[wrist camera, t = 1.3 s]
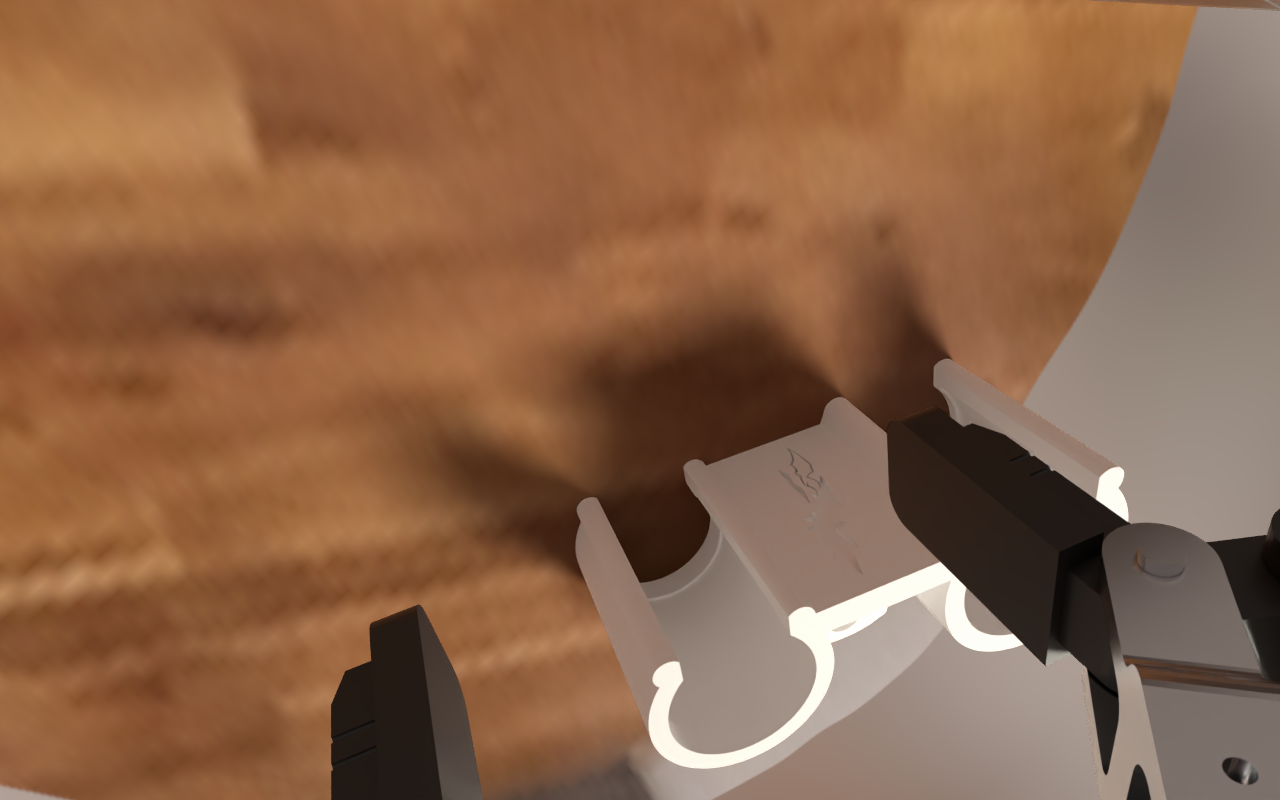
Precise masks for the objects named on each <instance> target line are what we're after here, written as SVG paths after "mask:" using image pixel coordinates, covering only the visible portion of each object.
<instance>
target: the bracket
mask: <svg viewBox="0 0 1280 800" xmlns="http://www.w3.org/2000/svg"><path fill="white" fill-rule="evenodd" d="M933 386H934V387H935V388H937V389H938V390H939V391H940V392H941V393H942V394H943V396H944V397H945V399H946V401H947V404H948V407H949V412H950V417H951V418H952V419H954V420H955V421H956V422H958V423H959V424H960V425H962V426H963V427H964V426H966V425H969V424H971V423H973V424H976V425H979V426H982V427H985V428H987V429H990V430H993V431H996V432H999V433H1002V434H1005V435H1006V436H1007V437H1009V438H1010V439H1012V440H1013V441H1015V442H1016V443H1017V444H1019V445H1020V446H1022V447H1023V448H1024V449H1026V450H1027V451H1029V453H1030V455H1031V456H1036V457H1037V458H1038V459H1040V460H1041V461H1043V462H1044V463H1046V464H1047V465H1048V466H1049V467H1050V469H1051V471H1053V470H1055V471H1057V472H1058V473H1060V474H1061V475H1062V476H1064V477H1065V478H1067V479H1068V480H1069V481H1071V482H1072V483H1074V484H1075V485H1076V486H1078V487H1079V488H1081V489H1082V490H1084V491H1085V492H1086V493H1088V494H1089V495H1091V496H1092V497H1093V498H1095V499H1096V500H1098V501H1099V502H1100V503H1102V504H1103V505H1105V506H1106V507H1107V508H1109V509H1110V510H1112V511H1113V512H1115V513H1116V514H1117V515H1119V516H1120V517H1122V518H1123V519H1124V520H1126V521H1127V522H1128V508H1127V504H1126V501H1125V498H1124V496H1123V494H1122V493H1121V491H1120V490H1119V489H1118V487H1119V486H1120V484H1121V483H1122V481H1123V478H1124V471H1123V469H1122V468H1120V467H1119V466H1117V465H1115V464H1114V463H1112V462H1111V461H1109V460H1107V459H1106V458H1104V457H1103V456H1101V455H1100V454H1098V453H1096V452H1095V451H1094V450H1092V449H1090V448H1089V447H1087V446H1086V445H1084V444H1083V443H1081V442H1079V441H1078V440H1076V439H1075V438H1073V437H1071V436H1070V435H1068V434H1067V433H1065V432H1064V431H1062V430H1061V429H1059V428H1057V427H1056V426H1054V425H1052V424H1051V423H1050V422H1048V421H1047V420H1045V419H1043V418H1042V417H1040V416H1038V415H1037V414H1035V413H1034V412H1032V411H1031V410H1029V409H1028V408H1026V407H1025V406H1023V405H1021V404H1020V403H1018V402H1017V401H1015V400H1014V399H1012V398H1010V397H1009V396H1007V395H1006V394H1004V393H1003V392H1001V391H999V390H998V389H996V388H995V387H993V386H992V385H990V384H989V383H987V382H985V381H984V380H982V379H981V378H979V377H978V376H976V375H974V374H973V373H971V372H970V371H968V370H967V369H965V368H963V367H962V366H960V365H959V364H957V363H956V362H954V361H952V360H951V359H943V360H941V361H939V362H938V363H937V364H936V365H935V366H934V379H933ZM683 469H684V474H685V480H686V484H687V485H688V487H689V488H690V489H691V491H692V492H693V494H694V495H695V497H698V499H699V500H700V501H701V503H702V504H703V506H704V507H705V509H706V510H707V512H708V513H709V515H710V526H709V531H708V534H707V536H706V539H705V541H704V543H703V545H702V546H701V548H700V549H699V551H698V552H697V553H696V554H695V556H694V557H693V558H692V559H691V560H690V561H689V562H688V563H686V564H685V565H684V566H683V567H681V568H680V569H678V570H677V571H675V572H674V573H672V574H670V575H668V576H666V577H663V578H661V579H658V580H654V581H650V582H645V583H639V581H638V579H637V577H636V575H635V573H634V571H633V569H632V567H631V565H630V563H629V561H628V559H627V557H626V555H625V553H624V551H623V549H622V547H621V545H620V543H619V541H618V539H617V537H616V535H615V533H614V531H613V529H612V527H611V525H610V523H609V521H608V519H607V517H606V515H605V513H604V511H603V509H602V507H601V505H600V503H599V501H598V499H597V498H595V497H589V498H586V499H584V500H582V501H581V502H580V503H579V505H578V506H577V514H578V517H579V519H580V521H581V523H580V526H579V529H578V532H577V536H576V546H575V550H576V557H577V561H578V564H579V567H580V569H581V571H582V574H583V576H584V579H585V581H586V584H587V586H588V588H589V591H590V593H591V596H592V598H593V600H594V603H595V605H596V608H597V610H598V612H599V615H600V617H601V620H602V622H603V625H604V627H605V629H606V632H607V634H608V637H609V639H610V641H611V644H612V646H613V649H614V651H615V653H616V656H617V658H618V661H619V663H620V666H621V668H622V670H623V673H624V675H625V678H626V680H627V682H628V685H629V687H630V690H631V692H632V694H633V697H634V699H635V702H636V704H637V707H638V709H639V711H640V714H641V716H642V719H643V721H644V723H645V726H646V728H647V731H648V733H649V735H650V738H651V740H652V743H653V744H654V746H655V748H656V749H657V750H658V752H659V753H660V754H661V755H662V756H664V757H665V758H666V759H668V760H669V761H671V762H673V763H675V764H678V765H681V766H685V767H690V768H704V769H705V768H717V767H723V766H728V765H732V764H736V763H739V762H742V761H745V760H748V759H750V758H752V757H755V756H757V755H759V754H761V753H763V752H765V751H767V750H769V749H770V748H772V747H774V746H775V745H777V744H778V743H780V742H781V741H783V740H784V739H786V738H787V737H788V736H789V735H791V734H792V733H793V732H794V731H795V730H797V729H798V728H799V727H800V726H801V725H802V724H803V723H804V722H805V721H806V720H807V719H808V718H809V717H810V715H811V714H812V713H813V712H814V710H815V709H816V708H817V706H818V705H819V704H820V702H821V700H822V699H823V697H824V695H825V693H826V691H827V689H828V687H829V685H830V682H831V679H832V675H833V670H834V653H833V649H832V645H831V642H834V641H837V640H840V639H842V638H845V637H847V636H849V635H851V634H854V633H856V632H857V631H859V630H861V629H863V628H864V627H866V626H868V625H869V624H871V623H872V622H874V621H875V620H876V619H878V618H879V617H880V616H882V615H883V614H884V613H885V612H886V611H887V607H888V606H891V605H893V604H896V603H898V602H900V601H903V600H905V599H907V598H910V597H912V596H916V597H917V598H918V599H919V600H920V602H921V603H922V604H923V605H924V606H925V607H926V608H927V609H928V610H929V611H930V612H931V613H932V614H933V616H934V617H935V618H936V619H937V620H938V621H939V622H940V623H941V624H942V625H943V626H944V627H945V629H946V630H947V631H948V632H949V633H950V634H951V635H952V636H953V637H954V638H955V639H956V640H957V641H958V642H959V643H960V644H962V645H964V646H965V647H968V648H970V649H973V650H978V651H1000V650H1006V649H1010V648H1013V647H1016V646H1019V645H1022V644H1023V643H1022V642H1021V641H1020V640H1019V639H1018V638H1017V637H1016V636H1015V635H1014V634H1013V633H1012V632H1011V631H1010V630H1009V629H1007V628H1006V627H1005V626H1004V625H1003V624H1002V623H1001V622H1000V621H999V620H998V619H997V618H996V617H995V616H994V615H993V614H992V613H991V612H990V611H989V610H988V609H987V608H986V607H985V606H984V605H983V604H982V603H981V602H980V601H979V600H978V599H977V598H976V597H975V596H974V595H973V594H972V593H971V592H970V591H969V590H968V589H967V588H966V587H965V586H964V585H963V584H962V583H961V582H960V581H959V580H958V579H957V578H956V577H955V576H954V575H953V574H952V573H951V572H950V571H949V570H948V569H947V568H946V567H945V566H944V565H943V564H942V563H941V562H940V561H939V560H938V559H937V558H936V557H935V556H934V555H933V554H932V553H931V552H930V551H929V550H928V549H927V548H926V547H925V546H924V545H923V544H922V543H921V542H920V541H919V540H918V539H917V538H916V537H915V536H914V535H913V534H912V533H911V532H910V531H909V530H908V529H907V528H906V527H905V526H904V525H903V524H902V522H901V521H900V519H899V518H898V516H897V514H896V512H895V510H894V508H893V505H892V503H891V499H890V495H889V478H888V452H887V433H886V432H884V431H883V430H882V429H881V428H880V427H879V426H877V425H876V424H875V423H874V422H873V421H871V420H870V419H869V418H868V417H867V416H865V415H864V414H863V413H862V412H861V411H860V410H858V409H857V408H856V407H855V406H854V405H852V404H851V403H850V402H849V401H848V400H847V399H845V398H843V397H837V398H834V399H833V400H831V401H830V402H829V403H828V404H827V405H826V407H825V409H824V413H823V416H822V419H821V422H820V424H819V425H816V426H813V427H811V428H808V429H805V430H802V431H800V432H797V433H794V434H791V435H789V436H786V437H783V438H780V439H778V440H775V441H772V442H769V443H767V444H764V445H761V446H758V447H756V448H753V449H750V450H747V451H745V452H742V453H739V454H736V455H734V456H731V457H728V458H725V459H723V460H720V461H717V462H715V463H712V464H709V465H705V464H704V462H703V461H701V460H698V459H695V460H691V461H689V462H687V463H686V464H685V465H684V466H683Z"/></svg>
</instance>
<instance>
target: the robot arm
mask: <svg viewBox="0 0 1280 800" xmlns="http://www.w3.org/2000/svg"><path fill="white" fill-rule="evenodd" d="M1094 1H1112V2H1130V3H1147V4H1165V5H1183V6H1200V7H1218V8H1219V7H1220V8H1236V9H1253V10H1271V11H1280V0H1094ZM887 452H888V478H889V495H890V499H891V503H892V505H893V508H894V510H895V512H896V514H897V516H898V518H899V519H900V521H901V522H902V524H903V525H904V526H905V527H906V528H907V529H908V530H909V531H910V532H911V533H912V534H913V535H914V536H915V537H916V538H917V539H918V540H919V541H920V542H921V543H922V544H923V545H924V546H925V547H926V548H927V549H928V550H929V551H930V552H931V553H932V554H933V555H934V556H935V557H936V558H937V559H938V560H939V561H940V562H941V563H942V564H943V565H944V566H945V567H946V568H947V569H948V570H949V571H950V572H951V573H952V574H953V575H954V576H955V577H956V578H957V579H958V580H959V581H960V582H961V583H962V584H963V585H964V586H965V587H966V588H967V589H968V590H969V591H970V592H971V593H972V594H973V595H974V596H975V597H976V598H977V599H978V600H979V601H980V602H981V603H982V604H983V605H984V606H985V607H986V608H987V609H988V610H989V611H990V612H991V613H992V614H993V615H994V616H995V617H996V618H997V619H998V620H999V621H1000V622H1001V623H1002V624H1003V625H1004V626H1005V627H1006V628H1007V629H1009V630H1010V631H1011V632H1012V633H1013V634H1014V635H1015V636H1016V637H1017V638H1018V639H1019V640H1020V641H1021V642H1022V643H1023V644H1024V645H1025V646H1026V647H1027V648H1028V649H1029V650H1030V651H1031V652H1032V653H1033V654H1034V655H1035V656H1036V657H1037V658H1038V659H1039V660H1040V661H1041V662H1042V663H1043V664H1044V665H1045V666H1047V665H1049V664H1051V663H1053V662H1056V661H1058V660H1060V659H1062V658H1064V657H1066V656H1068V655H1071V654H1072V655H1073V656H1074V657H1075V658H1076V659H1077V660H1078V661H1079V662H1081V663H1082V664H1083V671H1082V683H1083V691H1084V697H1085V704H1086V711H1087V717H1088V725H1089V731H1090V738H1091V745H1092V752H1093V758H1094V765H1095V772H1096V778H1097V785H1098V794H1099V795H1098V797H1099V800H1280V509H1279V510H1278V511H1277V512H1275V514H1274V515H1273V517H1272V520H1271V524H1270V527H1269V530H1268V534H1267V535H1263V536H1254V537H1247V538H1239V539H1231V540H1223V541H1215V542H1204V541H1203V540H1202V539H1200V538H1199V537H1197V536H1195V535H1193V534H1192V533H1189V532H1187V531H1185V530H1182V529H1179V528H1176V527H1173V526H1169V525H1164V524H1157V523H1134V524H1130V523H1129V522H1127V521H1126V520H1124V519H1123V518H1122V517H1120V516H1119V515H1117V514H1116V513H1115V512H1113V511H1112V510H1110V509H1109V508H1107V507H1106V506H1105V505H1103V504H1102V503H1100V502H1099V501H1098V500H1096V499H1095V498H1093V497H1092V496H1091V495H1089V494H1088V493H1086V492H1085V491H1084V490H1082V489H1081V488H1079V487H1078V486H1076V485H1075V484H1074V483H1072V482H1071V481H1069V480H1068V479H1067V478H1065V477H1064V476H1062V475H1061V474H1060V473H1058V472H1057V471H1055V470H1053V471H1051V469H1050V467H1049V466H1048V465H1047V464H1046V463H1044V462H1043V461H1041V460H1040V459H1038V458H1037V457H1036V456H1031V455H1030V453H1029V451H1027V450H1026V449H1024V448H1023V447H1022V446H1020V445H1019V444H1017V443H1016V442H1015V441H1013V440H1012V439H1010V438H1009V437H1007V436H1006V435H1005V434H1002V433H999V432H996V431H993V430H990V429H987V428H985V427H982V426H979V425H976V424H973V423H971V424H969V425H966V426H964V427H963V426H962V425H960V424H959V423H958V422H956V421H955V420H954V419H952V418H951V417H950V416H948V415H947V414H946V413H944V412H943V411H942V410H940V409H939V408H936V407H928V408H925V409H923V410H920V411H918V412H915V413H912V414H910V415H907V416H905V417H902V418H900V419H897V420H894V421H892V422H890V424H889V425H888V428H887ZM370 647H371V661H370V662H367V663H365V664H362V665H360V666H357V667H355V668H352V669H350V670H347V671H345V673H344V676H343V678H342V680H341V683H340V685H339V688H338V690H337V692H336V695H335V697H334V699H333V702H332V704H331V738H332V740H333V743H332V744H331V764H332V767H333V770H332V771H331V800H483V797H482V791H481V786H480V780H479V775H478V769H477V764H476V758H475V753H474V747H473V742H472V736H471V731H470V726H469V720H468V715H467V709H466V705H465V700H464V697H463V693H462V690H461V687H460V684H459V681H458V678H457V676H456V673H455V671H454V669H453V667H452V665H451V663H450V661H449V659H448V657H447V655H446V653H445V651H444V649H443V647H442V645H441V643H440V641H439V639H438V637H437V635H436V633H435V631H434V629H433V627H432V625H431V623H430V621H429V619H428V617H427V615H426V613H425V611H424V609H423V608H422V607H421V605H416V606H413V607H411V608H408V609H406V610H403V611H401V612H398V613H395V614H393V615H390V616H388V617H385V618H383V619H380V620H377V621H375V622H372V623H371V624H370Z"/></svg>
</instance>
